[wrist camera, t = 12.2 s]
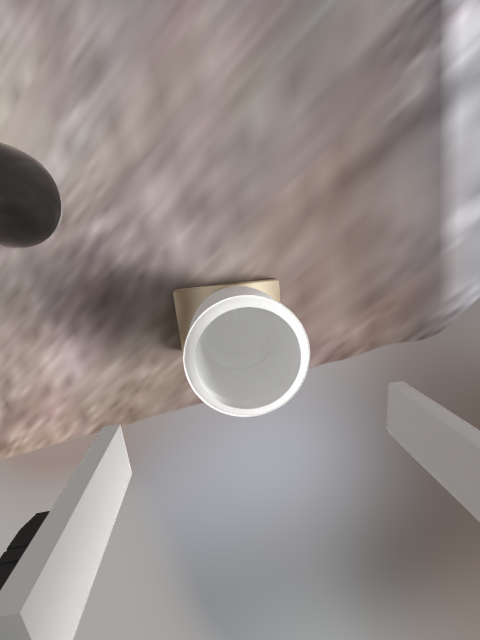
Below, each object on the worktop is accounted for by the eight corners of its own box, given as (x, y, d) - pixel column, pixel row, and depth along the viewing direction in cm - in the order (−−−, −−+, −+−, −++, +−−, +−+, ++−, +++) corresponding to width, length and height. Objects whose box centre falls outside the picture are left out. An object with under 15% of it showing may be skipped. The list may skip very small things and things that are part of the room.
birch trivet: (184, 350, 38) (183, 356, 36) (175, 289, 36) (172, 291, 34) (278, 338, 40) (282, 343, 37) (274, 278, 37) (278, 280, 35)
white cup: (178, 307, 34) (154, 342, 20) (244, 263, 34) (270, 268, 20) (222, 369, 37) (230, 440, 23) (284, 329, 37) (333, 376, 22)
